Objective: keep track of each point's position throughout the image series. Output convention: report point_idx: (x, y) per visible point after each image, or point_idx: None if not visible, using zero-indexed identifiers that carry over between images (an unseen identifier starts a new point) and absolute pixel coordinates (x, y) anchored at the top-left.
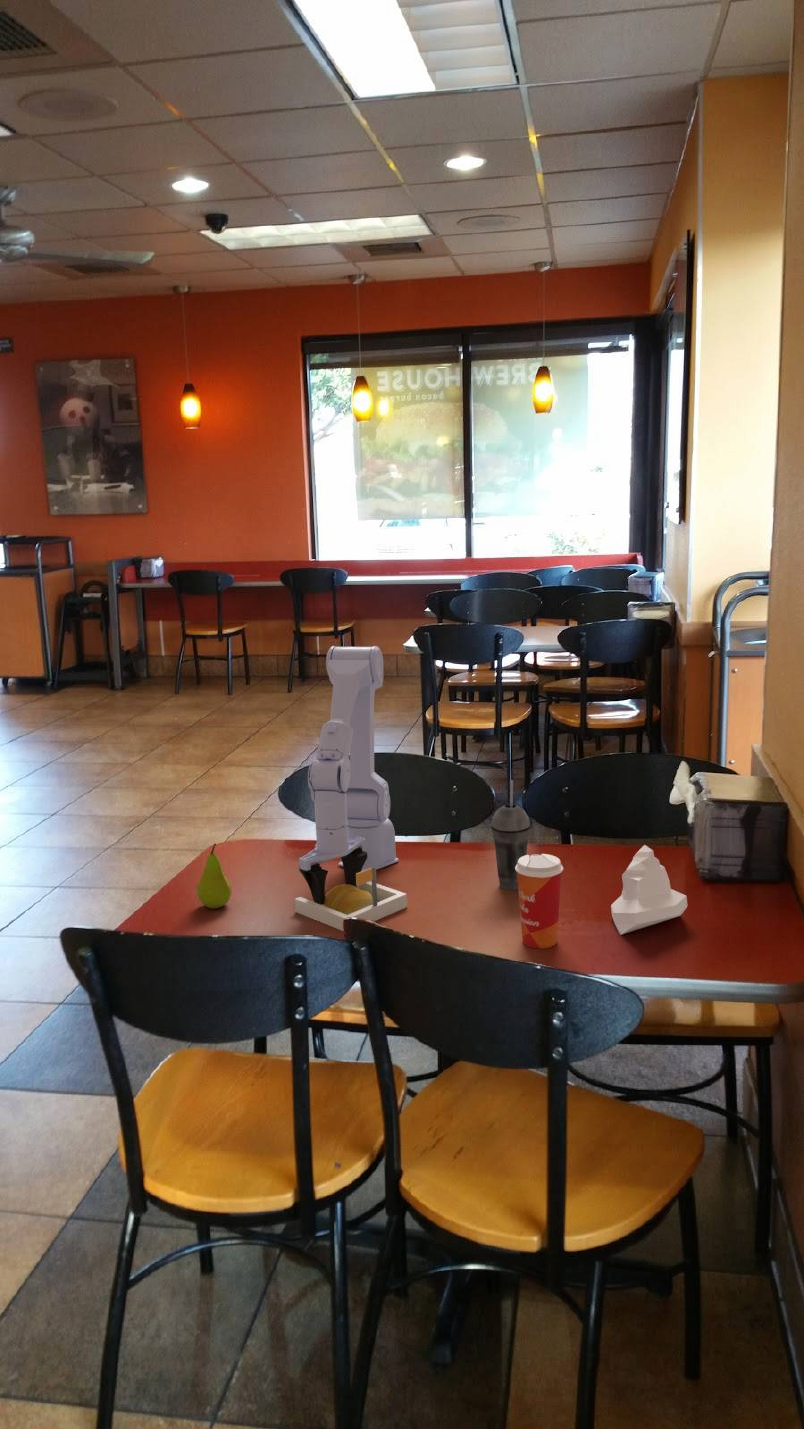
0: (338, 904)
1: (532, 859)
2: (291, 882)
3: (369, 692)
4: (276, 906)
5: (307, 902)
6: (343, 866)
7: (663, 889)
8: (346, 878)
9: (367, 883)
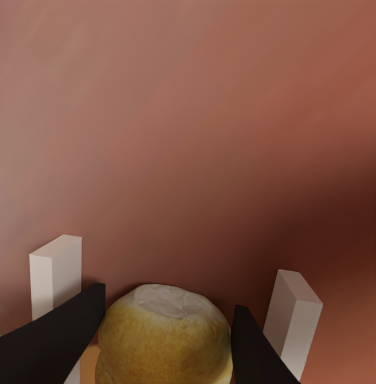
0: (95, 381)
1: None
2: (234, 34)
3: None
4: (53, 157)
5: (38, 307)
6: (262, 379)
7: None
8: (244, 338)
9: None
